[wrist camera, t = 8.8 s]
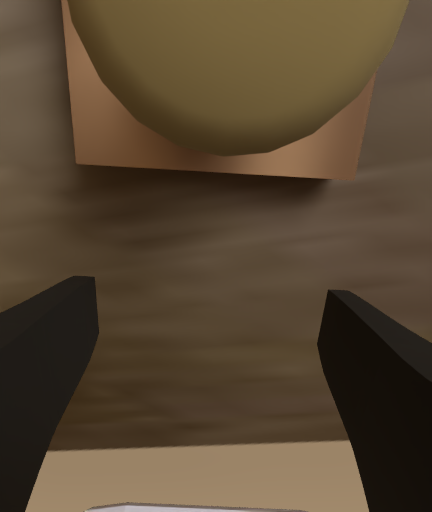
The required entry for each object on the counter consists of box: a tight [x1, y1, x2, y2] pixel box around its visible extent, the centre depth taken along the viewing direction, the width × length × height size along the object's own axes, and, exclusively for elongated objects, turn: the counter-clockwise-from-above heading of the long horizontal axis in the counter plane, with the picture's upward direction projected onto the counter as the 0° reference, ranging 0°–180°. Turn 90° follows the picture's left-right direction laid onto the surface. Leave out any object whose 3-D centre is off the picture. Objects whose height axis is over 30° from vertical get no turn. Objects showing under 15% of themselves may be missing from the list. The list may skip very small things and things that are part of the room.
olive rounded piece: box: [67, 0, 409, 157], centre depth 9 cm, size 6×6×11 cm
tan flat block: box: [61, 0, 377, 180], centre depth 15 cm, size 12×12×2 cm
